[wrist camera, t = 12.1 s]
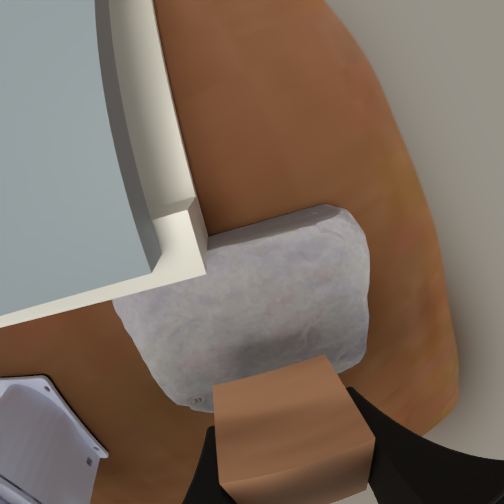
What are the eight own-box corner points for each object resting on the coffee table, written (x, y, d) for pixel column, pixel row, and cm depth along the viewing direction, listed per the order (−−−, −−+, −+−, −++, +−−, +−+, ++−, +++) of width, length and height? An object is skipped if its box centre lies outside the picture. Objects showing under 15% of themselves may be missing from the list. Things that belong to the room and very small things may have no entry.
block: (331, 419, 10) (366, 489, 7) (242, 445, 10) (256, 522, 6) (324, 353, 9) (375, 437, 5) (212, 385, 9) (219, 483, 5)
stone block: (346, 322, 19) (333, 182, 14) (376, 372, 15) (384, 216, 10) (183, 370, 19) (112, 250, 14) (183, 428, 14) (83, 307, 9)
